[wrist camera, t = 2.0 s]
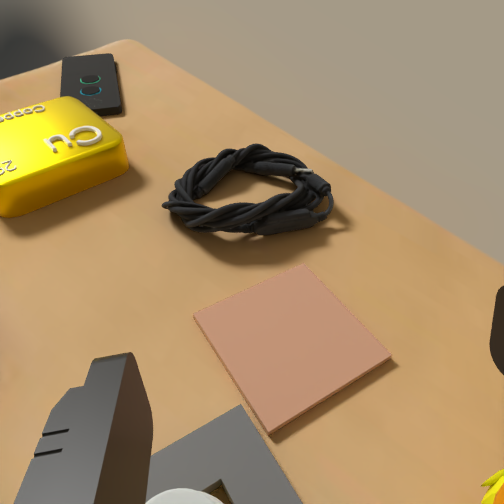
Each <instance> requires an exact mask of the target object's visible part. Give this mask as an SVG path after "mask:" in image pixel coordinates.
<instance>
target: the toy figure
mask: <svg viewBox="0 0 504 504" xmlns="http://www.w3.org/2000/svg"><path fill="white" fill-rule="evenodd" d="M481 486H483V487H484V486H490V487H489V489H488V491H487V493H486V494H485V496H484V498H483V500H482V501H481V503H482V504H504V469H502V470H500V471H498V472H497V473H495V474H494V475H493V476H491V477H490V478H489V479H487V480H486V481H485V482H484V483H483V484H482V485H481Z"/></svg>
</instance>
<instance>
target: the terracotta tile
mask: <svg viewBox="0 0 504 504" xmlns="http://www.w3.org/2000/svg"><path fill="white" fill-rule="evenodd" d="M193 317H194V320H195V321H196V323H197V324H198V326H199V328H200V329H201V331H202V332H203V334H204V335H205V337H206V339H207V340H208V342H209V343H210V345H211V347H212V348H213V350H214V351H215V353H216V354H217V356H218V358H219V359H220V361H221V362H222V364H223V365H224V367H225V369H226V370H227V372H228V373H229V375H230V377H231V378H232V380H233V381H234V383H235V384H236V386H237V388H238V389H239V391H240V392H241V394H242V396H243V397H244V399H245V400H246V402H247V403H248V405H249V407H250V408H251V410H252V411H253V413H254V415H255V416H256V418H257V419H258V421H259V422H260V424H261V426H262V427H263V429H264V430H265V432H266V433H267V435H268V436H269V435H270V434H272V433H273V432H275V431H276V430H278V429H280V428H281V427H283V426H284V425H286V424H288V423H289V422H291V421H292V420H294V419H296V418H297V417H299V416H300V415H302V414H303V413H305V412H307V411H308V410H310V409H311V408H313V407H315V406H316V405H318V404H319V403H321V402H323V401H324V400H326V399H327V398H329V397H330V396H332V395H334V394H335V393H337V392H338V391H340V390H342V389H343V388H345V387H346V386H348V385H350V384H351V383H353V382H354V381H356V380H357V379H359V378H361V377H362V376H364V375H365V374H367V373H369V372H370V371H372V370H373V369H375V368H377V367H378V366H380V365H381V364H383V363H384V362H386V361H388V360H389V359H390V358H391V356H392V354H391V353H390V352H389V351H388V350H387V349H386V348H385V347H384V346H383V345H382V344H381V343H380V342H379V341H378V340H377V339H376V338H375V337H374V335H373V334H372V333H371V332H370V331H369V330H368V329H367V328H366V327H365V326H364V325H363V324H362V323H361V322H360V321H359V320H358V319H357V318H356V317H355V316H354V315H353V314H352V313H351V312H350V311H349V309H348V308H347V307H346V306H345V305H344V304H343V303H342V302H341V301H340V300H339V299H338V298H337V297H336V296H335V295H334V294H333V293H332V292H331V291H330V290H329V289H328V288H327V287H326V286H325V285H324V283H323V282H322V281H321V280H320V279H319V278H318V277H317V276H316V275H315V274H314V273H313V272H312V271H311V270H310V269H309V268H308V267H307V266H306V265H305V264H304V263H302V264H300V265H298V266H296V267H293V268H291V269H289V270H287V271H285V272H283V273H280V274H278V275H276V276H274V277H272V278H270V279H267V280H265V281H263V282H261V283H259V284H257V285H254V286H252V287H250V288H248V289H246V290H244V291H241V292H239V293H237V294H235V295H233V296H230V297H228V298H226V299H224V300H222V301H220V302H217V303H215V304H213V305H211V306H209V307H207V308H204V309H202V310H200V311H198V312H196V313H194V314H193Z"/></svg>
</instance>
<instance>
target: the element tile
mask: <svg viewBox="0 0 504 504" xmlns="http://www.w3.org/2000/svg"><path fill="white" fill-rule="evenodd" d="M128 169H129V163H128V159H127V154H126V150H125V145H124V141H123V137H122V135H121V134H120V133H119V132H118V131H117V130H116V129H114V128H113V127H112V126H111V125H109V124H108V123H107V122H106V121H104V120H103V119H102V118H101V117H99V116H98V115H97V114H96V113H94V112H93V111H92V110H91V109H90V108H88V107H87V106H86V105H85V104H83V103H82V102H81V101H80V100H78V99H76V98H73V97H70V96H65V97H60V98H56V99H53V100H49V101H46V102H42V103H39V104H35V105H32V106H28V107H25V108H21V109H18V110H14V111H11V112H8V113H4V114H1V115H0V216H1V217H6V218H12V217H18V216H21V215H24V214H27V213H29V212H32V211H34V210H37V209H39V208H42V207H44V206H47V205H49V204H52V203H54V202H57V201H59V200H61V199H64V198H66V197H69V196H71V195H74V194H76V193H79V192H81V191H84V190H86V189H89V188H91V187H94V186H96V185H98V184H101V183H103V182H106V181H108V180H111V179H113V178H116V177H118V176H120V175H122V174H124V173H125V172H126V171H128Z"/></svg>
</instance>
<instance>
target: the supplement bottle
mask: <svg viewBox="0 0 504 504" xmlns="http://www.w3.org/2000/svg"><path fill="white" fill-rule="evenodd" d="M145 504H224V503H222V502H221V501H220V500H219V499H217V498H216V497H214V496H212V495H210V494H207V493H205V492H201V491H196V490H193V489H187V488H177V489H171V490H167V491H164V492H162V493H160V494H158V495H156V496H154V497H153V498H151V499H150V500H149V501H147V502H146V503H145Z"/></svg>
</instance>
